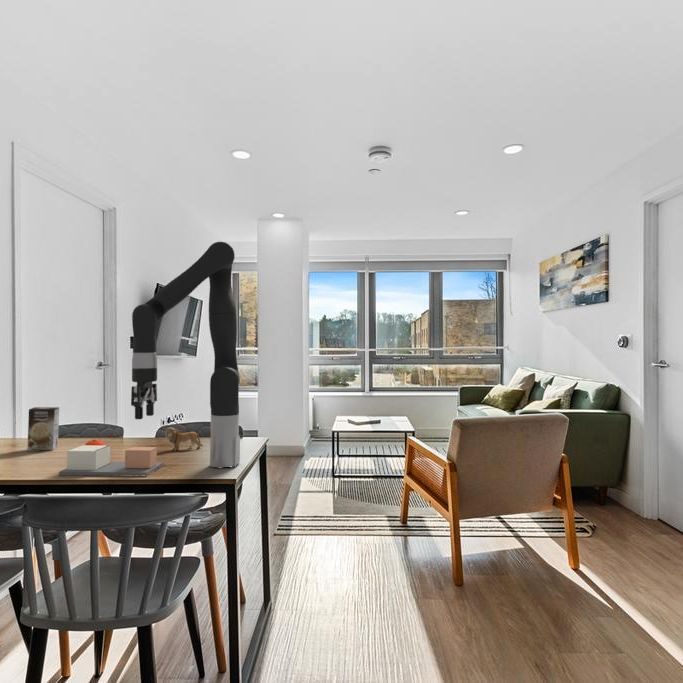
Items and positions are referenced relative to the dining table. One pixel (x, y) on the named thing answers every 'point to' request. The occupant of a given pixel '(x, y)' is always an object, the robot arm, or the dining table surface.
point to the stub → (140, 457)
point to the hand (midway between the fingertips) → (144, 417)
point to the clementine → (95, 442)
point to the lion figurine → (181, 437)
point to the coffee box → (43, 428)
